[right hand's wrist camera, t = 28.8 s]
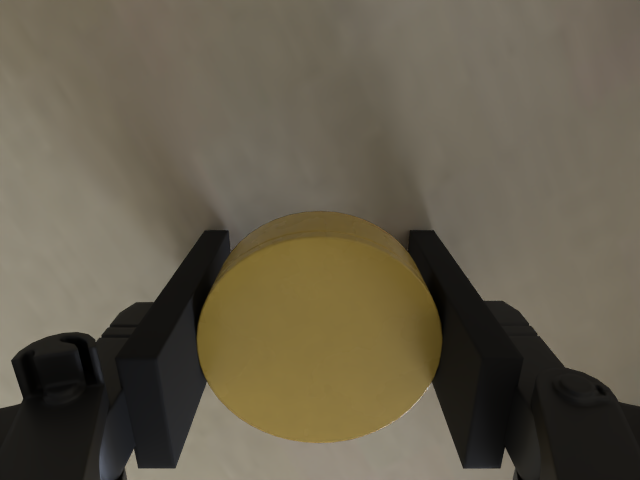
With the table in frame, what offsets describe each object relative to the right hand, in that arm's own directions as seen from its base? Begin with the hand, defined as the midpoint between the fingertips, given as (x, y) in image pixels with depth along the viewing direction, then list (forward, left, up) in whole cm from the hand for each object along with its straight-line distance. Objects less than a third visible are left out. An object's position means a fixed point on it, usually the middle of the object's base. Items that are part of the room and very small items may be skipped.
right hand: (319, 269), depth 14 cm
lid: (0, 0, +4) cm, 4 cm away
